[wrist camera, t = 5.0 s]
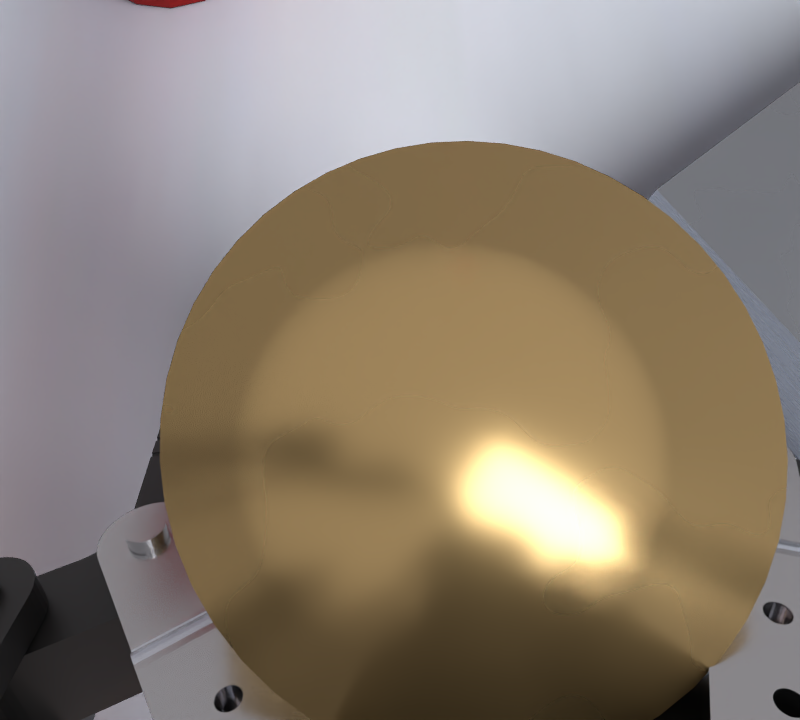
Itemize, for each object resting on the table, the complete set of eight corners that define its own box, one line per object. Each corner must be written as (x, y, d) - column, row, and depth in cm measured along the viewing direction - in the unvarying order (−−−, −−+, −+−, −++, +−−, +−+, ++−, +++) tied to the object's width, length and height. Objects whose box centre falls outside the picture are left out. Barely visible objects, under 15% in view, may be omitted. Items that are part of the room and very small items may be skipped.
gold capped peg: (259, 470, 18) (37, 361, 6) (428, 344, 19) (514, 45, 7) (391, 654, 17) (427, 941, 5) (563, 510, 18) (915, 476, 6)
